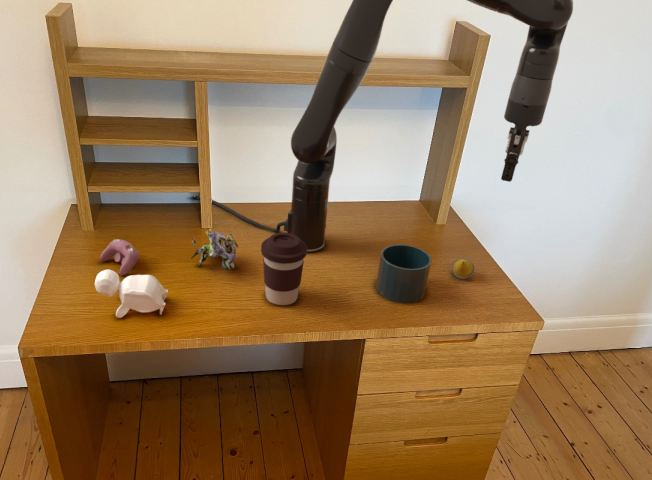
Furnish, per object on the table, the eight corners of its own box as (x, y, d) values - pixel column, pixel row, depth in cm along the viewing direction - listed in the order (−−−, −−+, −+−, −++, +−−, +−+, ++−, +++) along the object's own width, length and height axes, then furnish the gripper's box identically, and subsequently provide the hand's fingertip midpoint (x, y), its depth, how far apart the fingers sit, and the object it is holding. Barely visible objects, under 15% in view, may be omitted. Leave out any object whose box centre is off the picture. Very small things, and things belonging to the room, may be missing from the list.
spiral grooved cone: (476, 278, 147) (478, 268, 138) (456, 284, 148) (456, 275, 139) (469, 258, 149) (470, 247, 139) (449, 265, 150) (448, 255, 140)
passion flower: (230, 286, 146) (240, 267, 135) (186, 280, 143) (193, 261, 132) (232, 245, 150) (242, 224, 140) (190, 239, 147) (196, 217, 137)
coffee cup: (287, 315, 128) (291, 256, 120) (251, 299, 132) (252, 241, 124) (311, 294, 135) (316, 237, 127) (275, 280, 139) (278, 224, 131)
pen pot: (370, 295, 137) (375, 262, 132) (383, 271, 146) (388, 240, 141) (418, 308, 134) (425, 274, 129) (428, 283, 143) (435, 251, 138)
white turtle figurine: (160, 306, 133) (94, 285, 128) (172, 277, 129) (104, 254, 124) (155, 329, 126) (85, 308, 121) (168, 299, 122) (95, 276, 117)
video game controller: (135, 277, 139) (145, 250, 138) (119, 276, 136) (129, 248, 134) (113, 261, 145) (121, 235, 143) (97, 260, 141) (105, 233, 140)
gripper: (512, 87, 125) (493, 160, 134) (506, 103, 114) (486, 181, 123) (548, 93, 123) (527, 166, 132) (546, 110, 112) (523, 188, 120)
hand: (507, 173), depth 127 cm, fingers open, 8 cm apart
